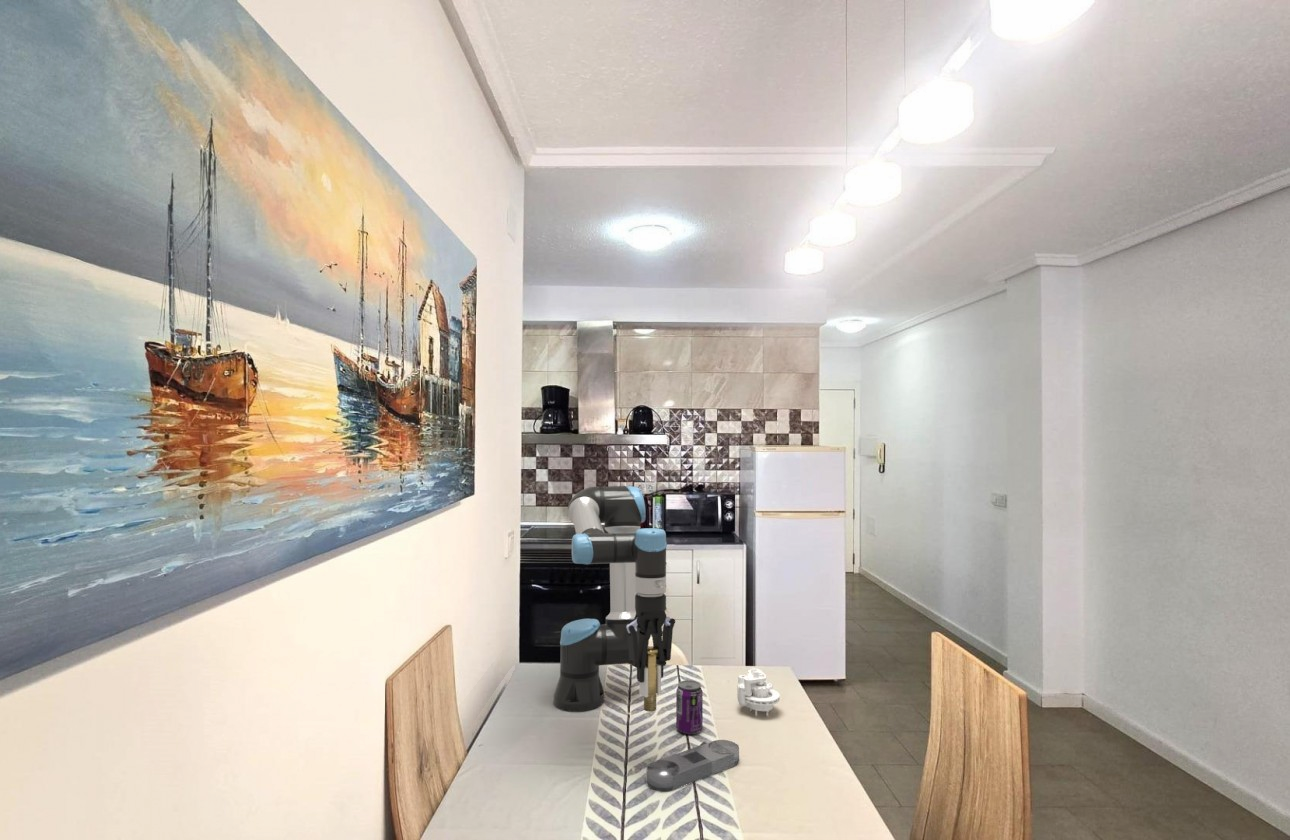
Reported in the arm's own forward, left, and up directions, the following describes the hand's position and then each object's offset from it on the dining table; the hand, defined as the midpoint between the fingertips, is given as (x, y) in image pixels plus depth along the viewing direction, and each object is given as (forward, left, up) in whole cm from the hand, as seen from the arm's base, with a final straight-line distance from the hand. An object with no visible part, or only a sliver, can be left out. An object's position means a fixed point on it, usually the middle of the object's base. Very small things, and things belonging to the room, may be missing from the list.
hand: (650, 693), depth 141 cm
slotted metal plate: (+7, +8, -17) cm, 20 cm away
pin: (0, 0, -4) cm, 4 cm away
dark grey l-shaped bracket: (+1, +18, -17) cm, 25 cm away
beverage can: (-10, +20, -17) cm, 28 cm away
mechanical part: (-8, +44, -17) cm, 48 cm away
